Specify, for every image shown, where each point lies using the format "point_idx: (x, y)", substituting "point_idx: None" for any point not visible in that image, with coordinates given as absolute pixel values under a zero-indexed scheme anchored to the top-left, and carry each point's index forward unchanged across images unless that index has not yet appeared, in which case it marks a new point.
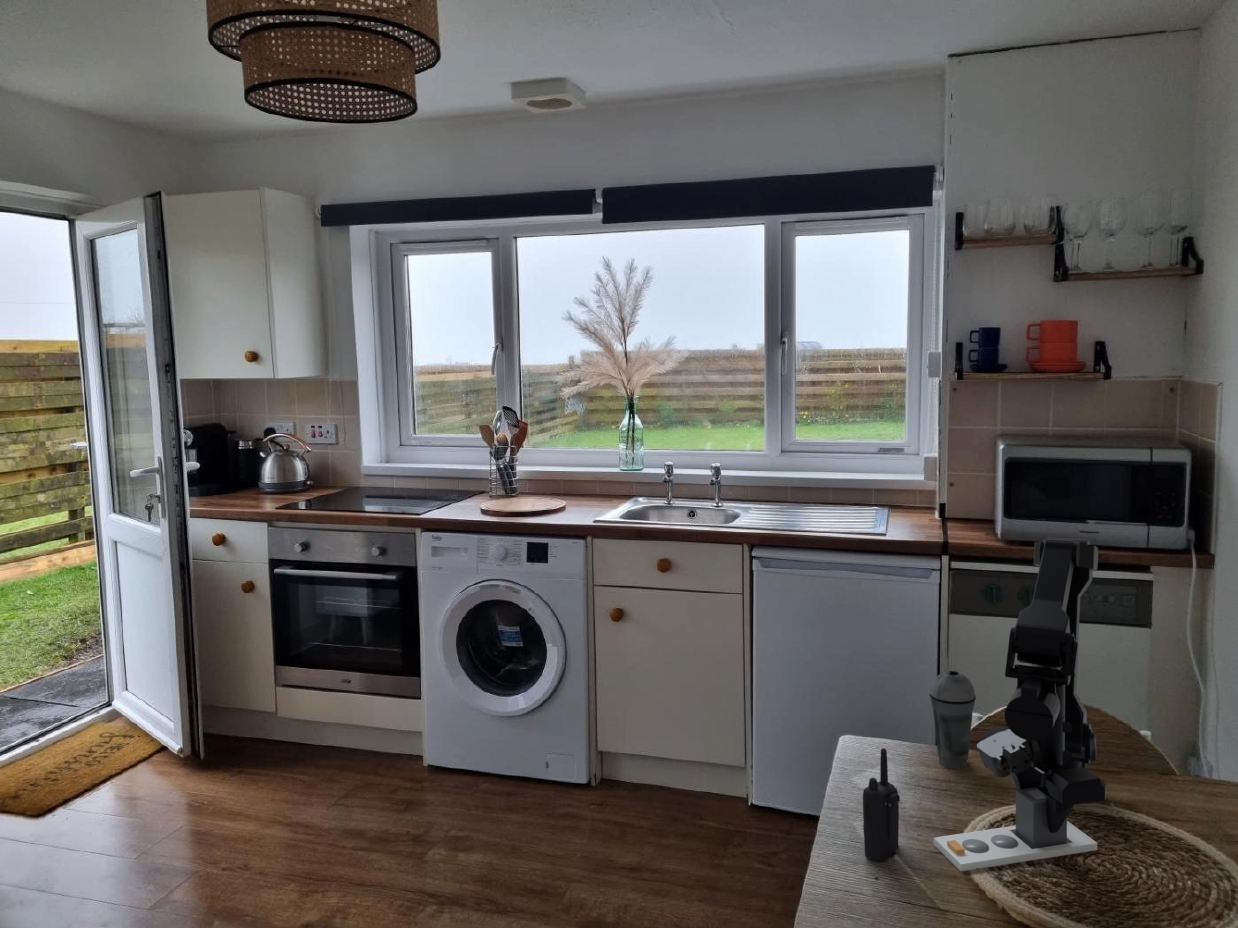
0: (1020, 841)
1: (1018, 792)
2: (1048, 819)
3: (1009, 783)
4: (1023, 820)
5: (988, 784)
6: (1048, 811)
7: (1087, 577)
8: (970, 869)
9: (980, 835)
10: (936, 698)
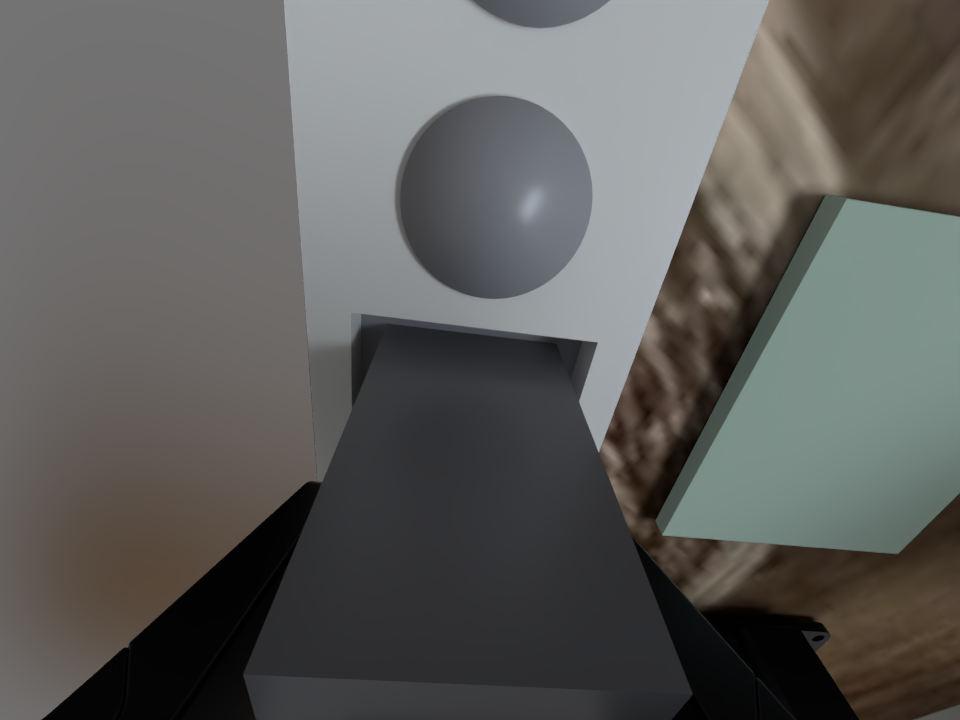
0: (456, 311)
1: (621, 682)
2: (262, 559)
3: (887, 586)
4: (486, 428)
5: (955, 536)
6: (169, 653)
7: None
8: None
9: (661, 90)
10: None
